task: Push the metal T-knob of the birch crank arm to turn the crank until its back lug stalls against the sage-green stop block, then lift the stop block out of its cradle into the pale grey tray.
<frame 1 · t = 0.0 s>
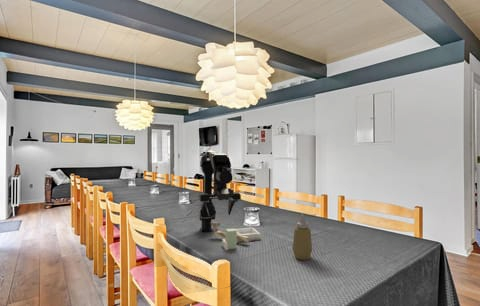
hand: (219, 215, 125), 15 cm above the table, tool pointing down, fingers open, 9 cm apart
tray: (246, 237, 140), on the table
squeeze bottle: (302, 258, 114), on the table
crank: (229, 231, 134), point 5 cm above the table, hinge at 40.0°
crank housing: (231, 241, 133), on the table
stop block: (230, 247, 125), on the table
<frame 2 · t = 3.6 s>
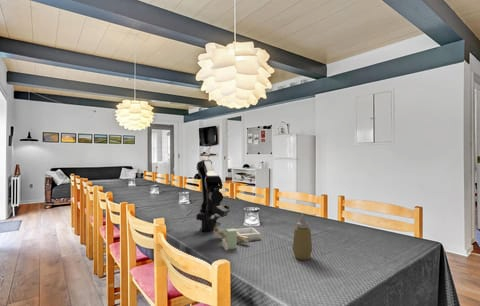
hand: (211, 231, 136), 4 cm above the table, tool pointing down, fingers closed
crank: (229, 231, 134), point 5 cm above the table, hinge at 38.6°, touching gripper
everything else where it was.
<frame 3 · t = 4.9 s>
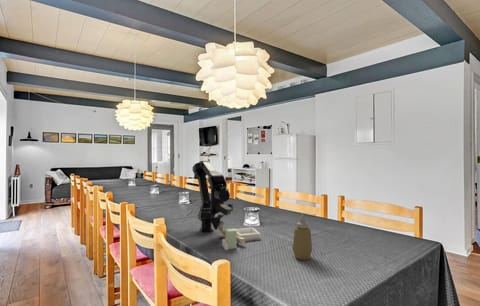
hand: (215, 229, 139), 4 cm above the table, tool pointing down, fingers closed
crank: (229, 230, 135), point 5 cm above the table, hinge at 19.9°, touching gripper
everything else where it was.
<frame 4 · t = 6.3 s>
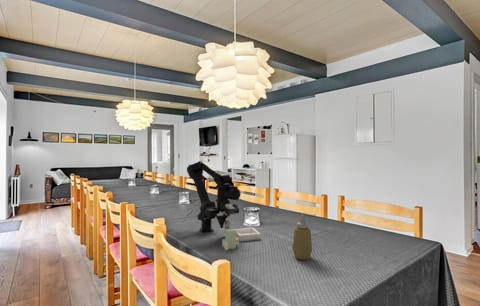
hand: (221, 228, 142), 4 cm above the table, tool pointing down, fingers closed
crank: (231, 230, 135), point 5 cm above the table, hinge at -2.0°, touching gripper, stop block
stop block: (230, 247, 125), on the table, touching crank, crank housing
everything else where it was.
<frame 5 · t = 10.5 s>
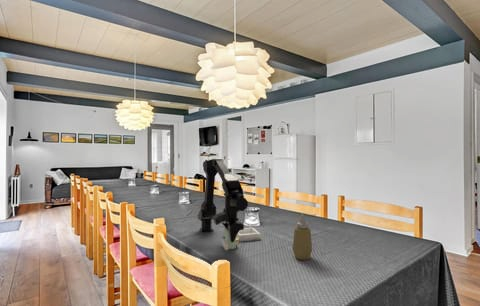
hand: (230, 240, 125), 3 cm above the table, tool pointing down, fingers closed on stop block, 4 cm apart
crank: (231, 230, 135), point 5 cm above the table, hinge at -1.9°, touching stop block
stop block: (230, 247, 125), on the table, touching crank, gripper
everything else where it was.
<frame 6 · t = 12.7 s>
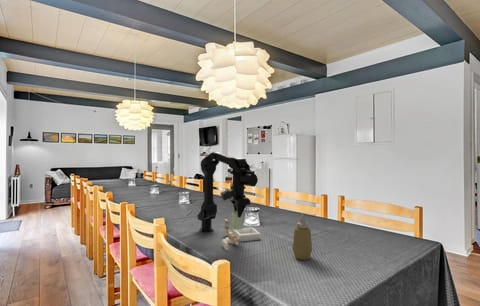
hand: (237, 216, 132), 13 cm above the table, tool pointing down, fingers closed on stop block, 4 cm apart
crank: (231, 230, 135), point 5 cm above the table, hinge at -1.7°
stop block: (237, 228, 132), point 7 cm above the table, touching gripper
everything else where it was.
when the fingers open (5 cm above the table, at t = 15.0 s): stop block stays where it is, resting on tray.
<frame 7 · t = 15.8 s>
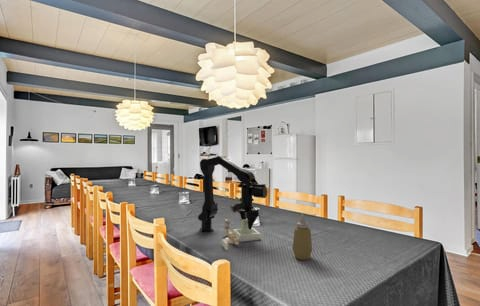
hand: (246, 226, 140), 5 cm above the table, tool pointing down, fingers open, 9 cm apart
stop block: (245, 235, 140), point 1 cm above the table, touching tray
everything else where it was.
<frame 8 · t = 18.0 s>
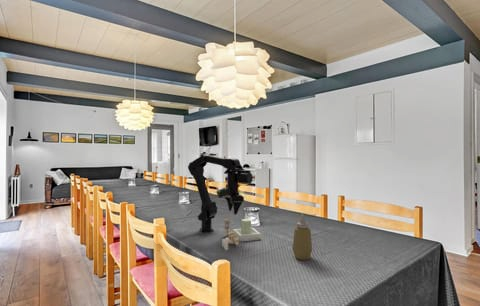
hand: (232, 212, 143), 12 cm above the table, tool pointing down, fingers open, 9 cm apart
nothing on the table moved.
at the end: stop block 0.3 cm off-centre on the tray, point 0.8 cm above the tray's base; crank at -2° (first picture: +40°); stop block tilted 0° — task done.
